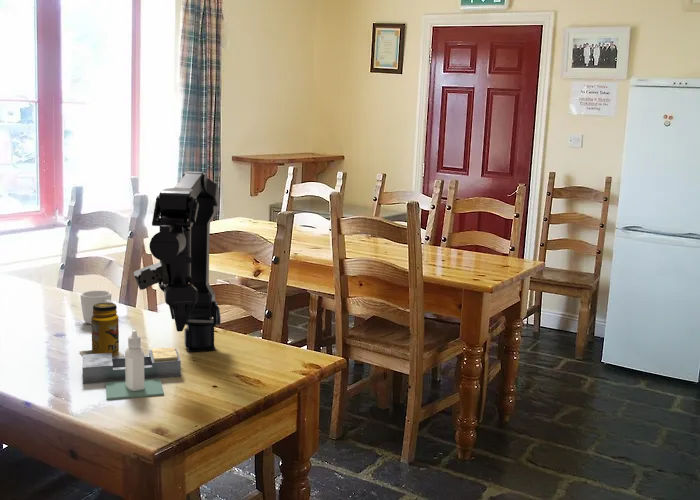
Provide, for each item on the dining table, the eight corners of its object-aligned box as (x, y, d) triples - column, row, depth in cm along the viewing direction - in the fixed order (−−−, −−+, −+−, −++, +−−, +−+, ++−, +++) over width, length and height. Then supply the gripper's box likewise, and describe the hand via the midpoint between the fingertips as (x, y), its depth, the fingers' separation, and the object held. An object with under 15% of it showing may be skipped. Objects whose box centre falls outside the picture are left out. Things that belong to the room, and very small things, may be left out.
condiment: (124, 356, 170) (123, 306, 168) (86, 361, 166) (85, 310, 164) (115, 347, 176) (114, 299, 174) (79, 352, 171) (77, 303, 170)
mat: (160, 380, 155) (159, 378, 155) (164, 395, 147) (164, 393, 147) (105, 384, 151) (105, 382, 151) (106, 399, 143) (106, 398, 143)
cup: (125, 323, 197) (124, 294, 196) (101, 329, 191) (100, 300, 189) (99, 316, 203) (98, 288, 202) (74, 322, 196) (73, 293, 195)
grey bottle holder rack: (176, 363, 166) (176, 346, 166) (180, 376, 158) (180, 358, 157) (83, 369, 160) (82, 351, 159) (82, 383, 151) (82, 364, 151)
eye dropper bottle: (120, 392, 147) (119, 334, 145) (127, 382, 152) (126, 326, 150) (142, 392, 147) (142, 334, 145) (148, 382, 152) (148, 327, 150)
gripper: (133, 244, 155) (134, 315, 158) (138, 261, 138) (140, 340, 141) (186, 243, 159) (186, 312, 162) (198, 260, 141) (198, 337, 144)
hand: (177, 325), depth 152 cm, fingers open, 9 cm apart
